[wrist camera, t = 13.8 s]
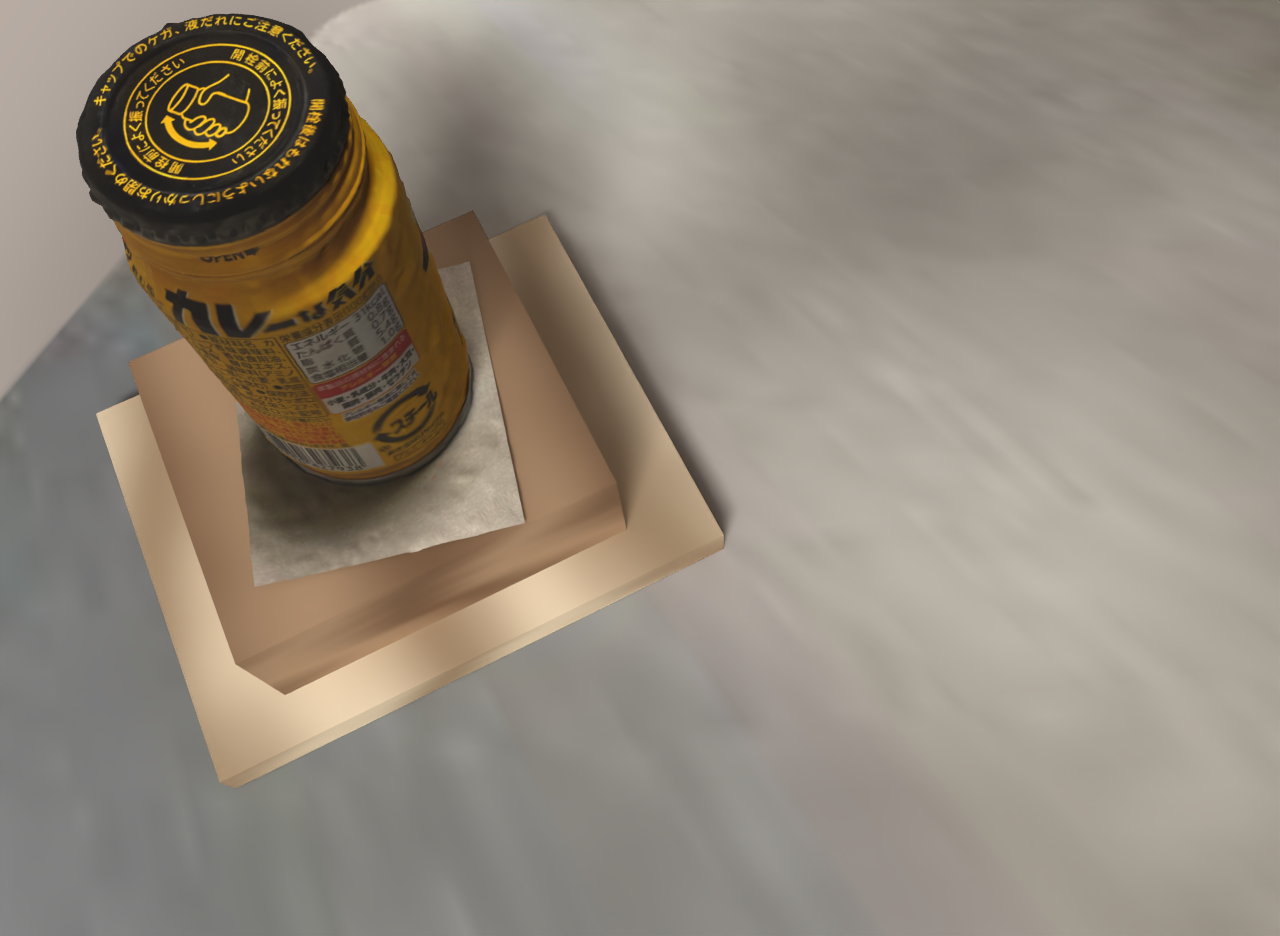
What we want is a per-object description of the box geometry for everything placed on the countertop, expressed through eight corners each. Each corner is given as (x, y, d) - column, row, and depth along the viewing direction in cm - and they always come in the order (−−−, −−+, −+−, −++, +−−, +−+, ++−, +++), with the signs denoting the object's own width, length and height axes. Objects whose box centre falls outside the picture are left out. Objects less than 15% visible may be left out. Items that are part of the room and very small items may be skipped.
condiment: (470, 265, 35) (355, -59, 24) (526, 525, 32) (421, 289, 21) (228, 322, 35) (-1, 22, 24) (258, 591, 31) (7, 386, 20)
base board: (549, 234, 41) (528, 141, 37) (724, 548, 36) (724, 487, 32) (113, 429, 39) (33, 358, 35) (235, 788, 34) (160, 760, 30)
